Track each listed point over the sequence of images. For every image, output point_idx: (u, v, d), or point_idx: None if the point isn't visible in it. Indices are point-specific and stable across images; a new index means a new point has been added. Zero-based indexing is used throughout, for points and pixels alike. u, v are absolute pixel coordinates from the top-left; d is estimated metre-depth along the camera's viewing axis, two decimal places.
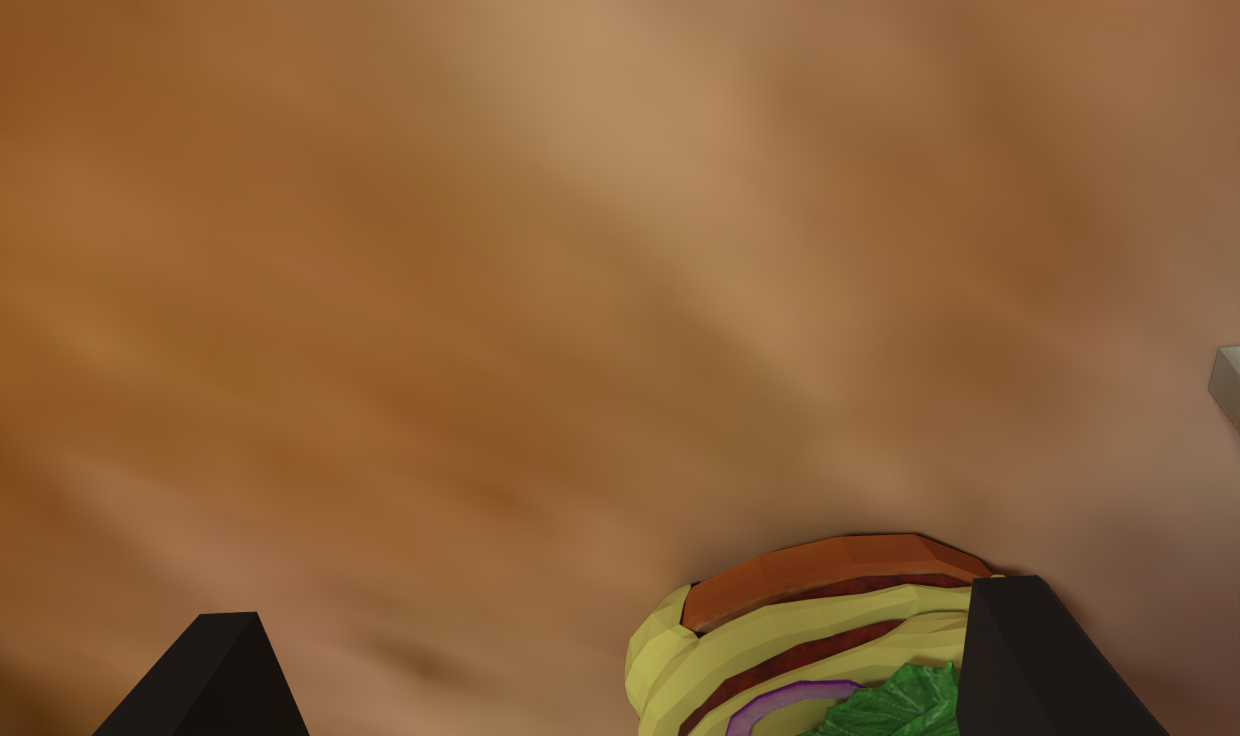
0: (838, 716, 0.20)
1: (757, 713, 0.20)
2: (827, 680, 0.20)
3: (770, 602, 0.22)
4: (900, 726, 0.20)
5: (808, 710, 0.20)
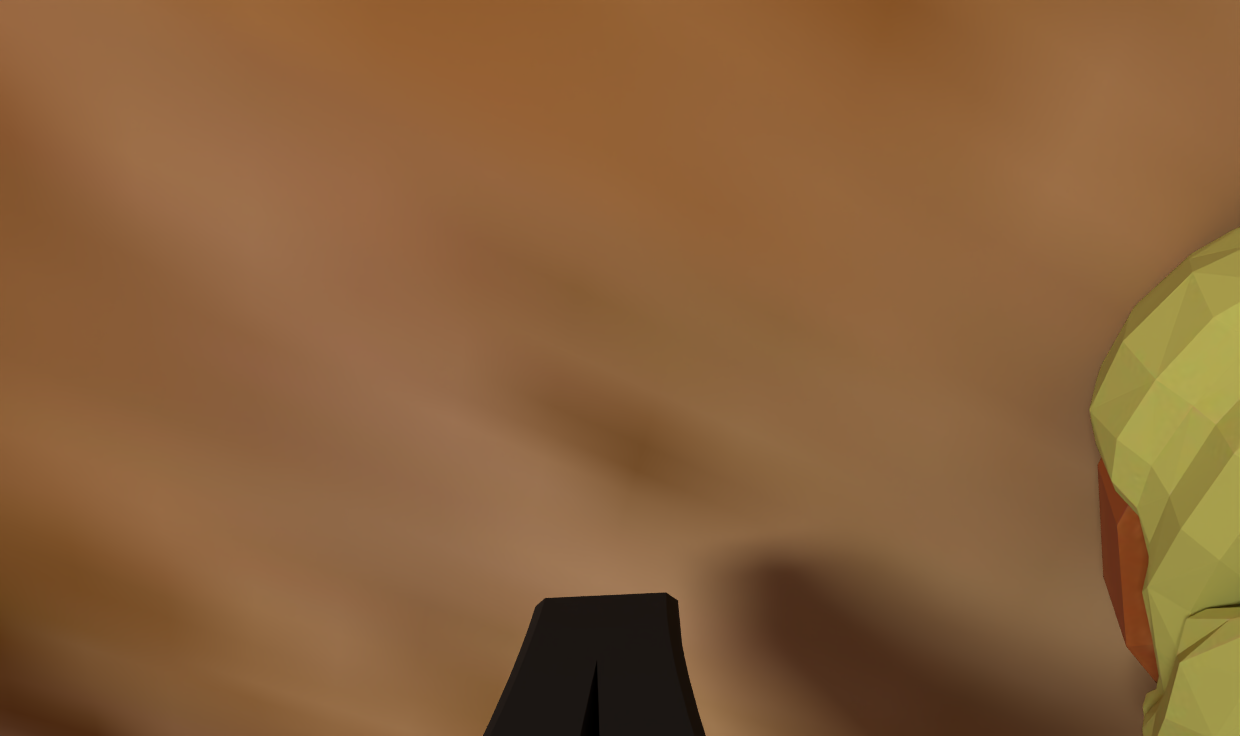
0: None
1: None
2: None
3: None
4: None
5: None
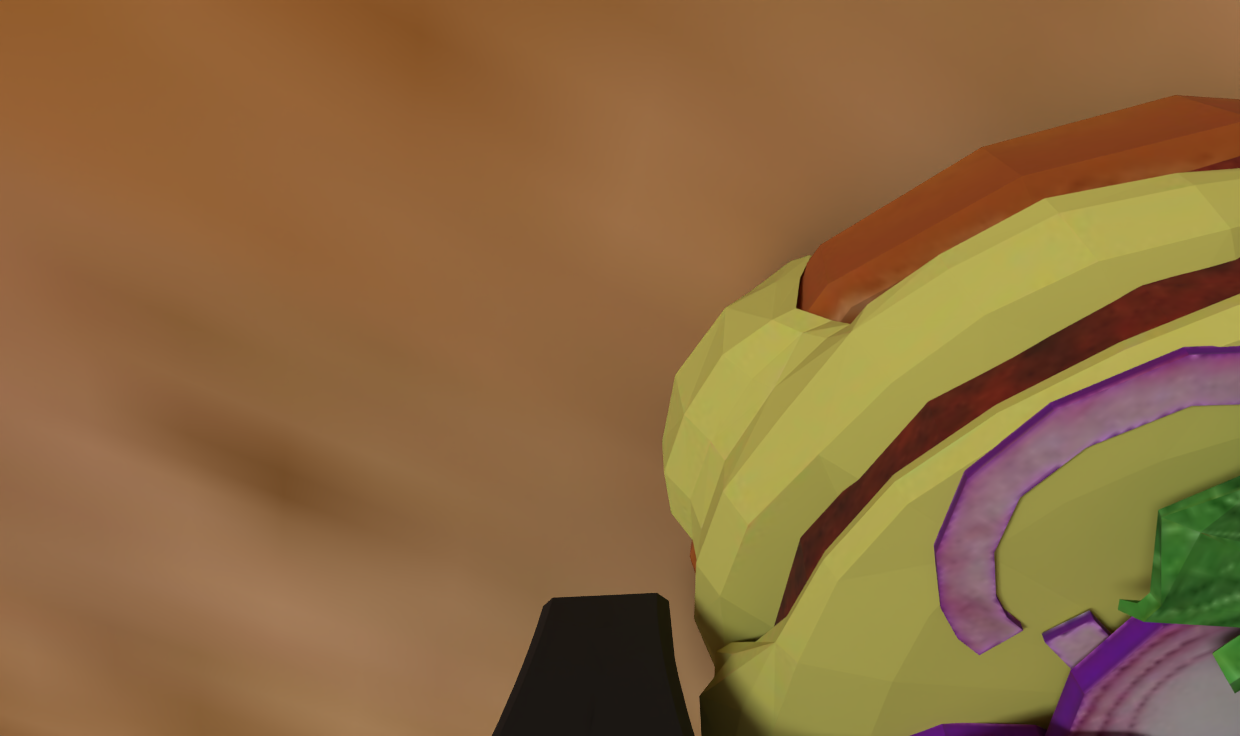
0: None
1: (1044, 457, 0.08)
2: None
3: None
4: None
5: (1183, 451, 0.08)
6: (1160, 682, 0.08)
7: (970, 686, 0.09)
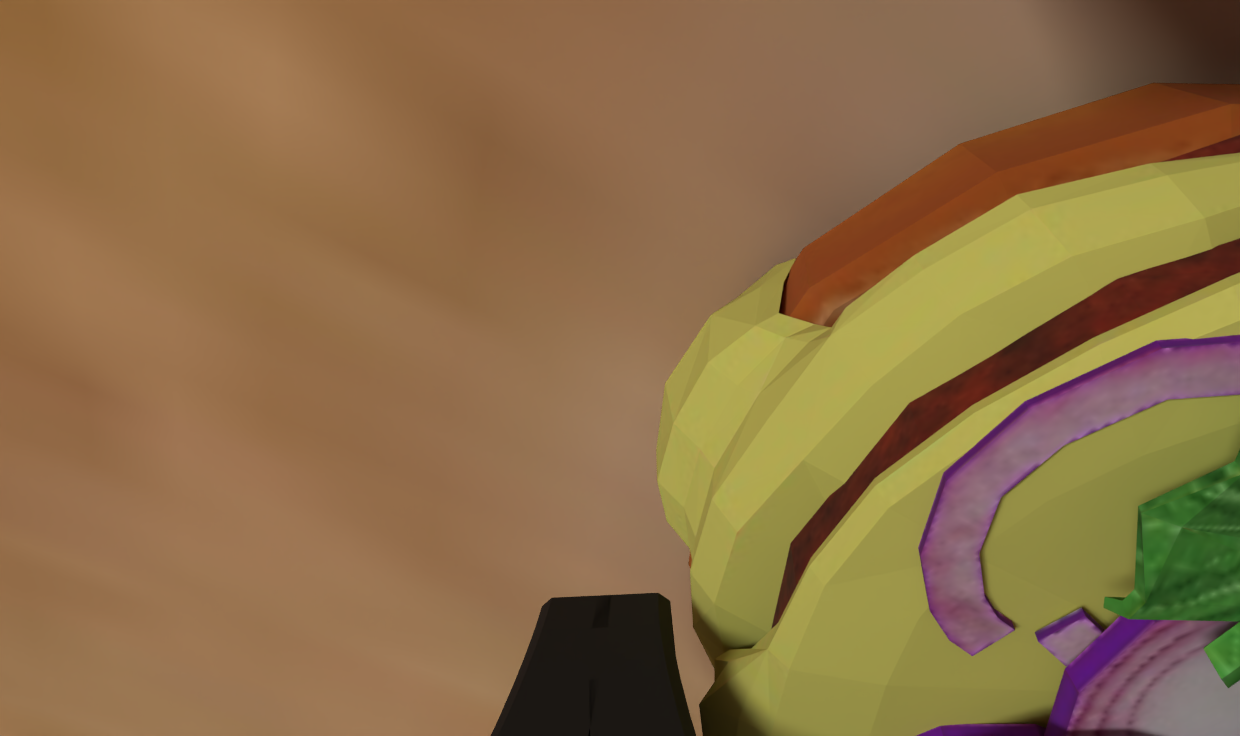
0: None
1: (1022, 456, 0.07)
2: None
3: None
4: None
5: (1162, 444, 0.07)
6: (1156, 678, 0.08)
7: (966, 687, 0.09)
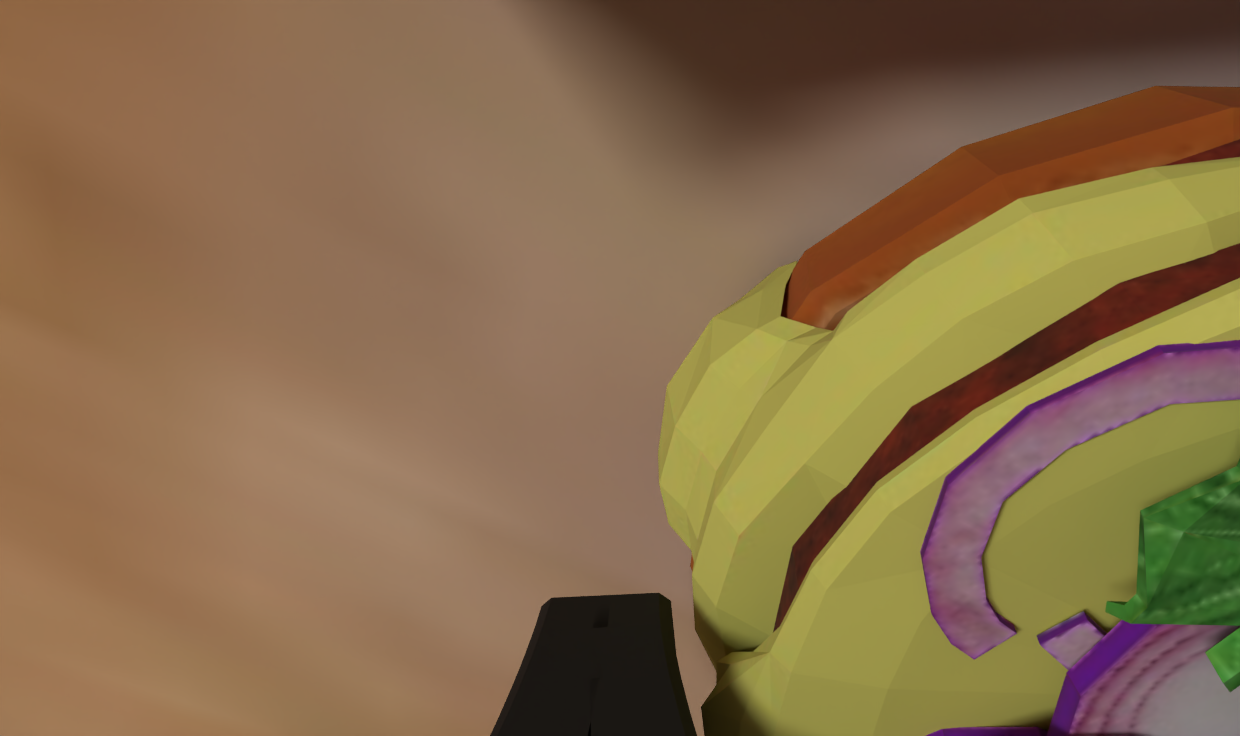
0: None
1: (1024, 460, 0.07)
2: None
3: None
4: None
5: (1165, 449, 0.07)
6: (1158, 682, 0.08)
7: (968, 690, 0.09)
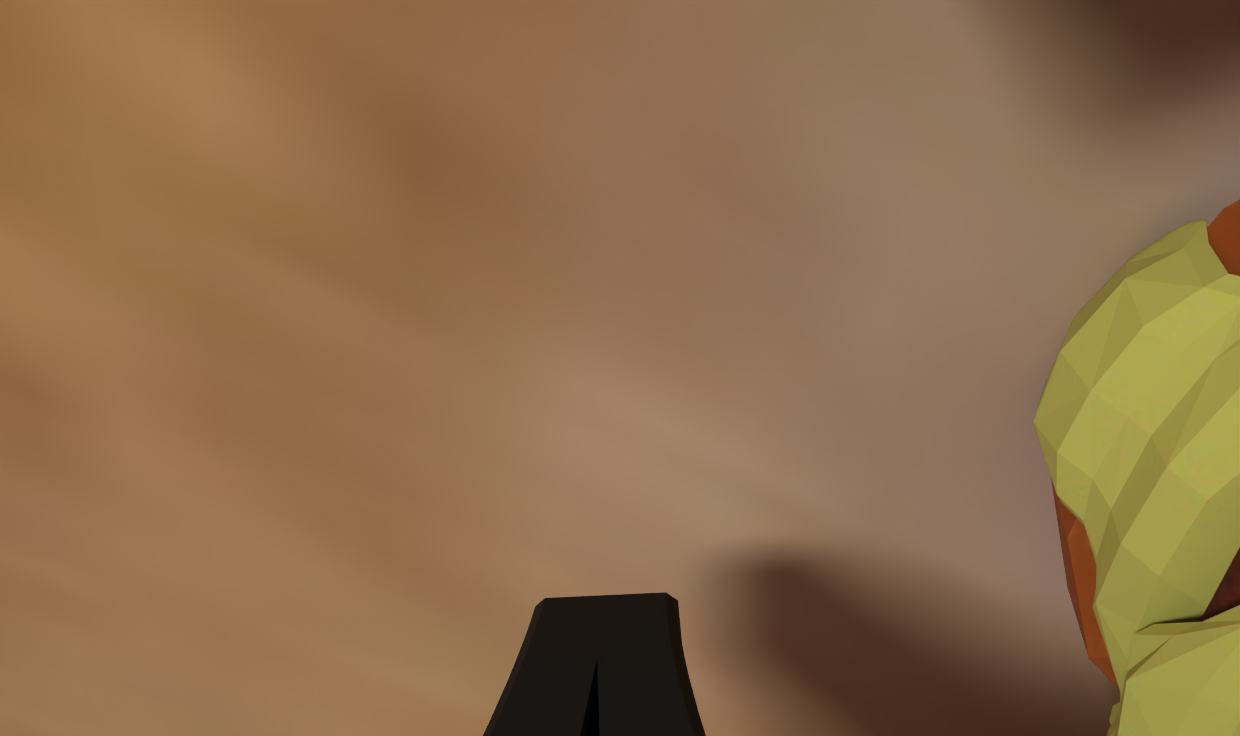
0: None
1: None
2: None
3: None
4: None
5: None
6: None
7: None
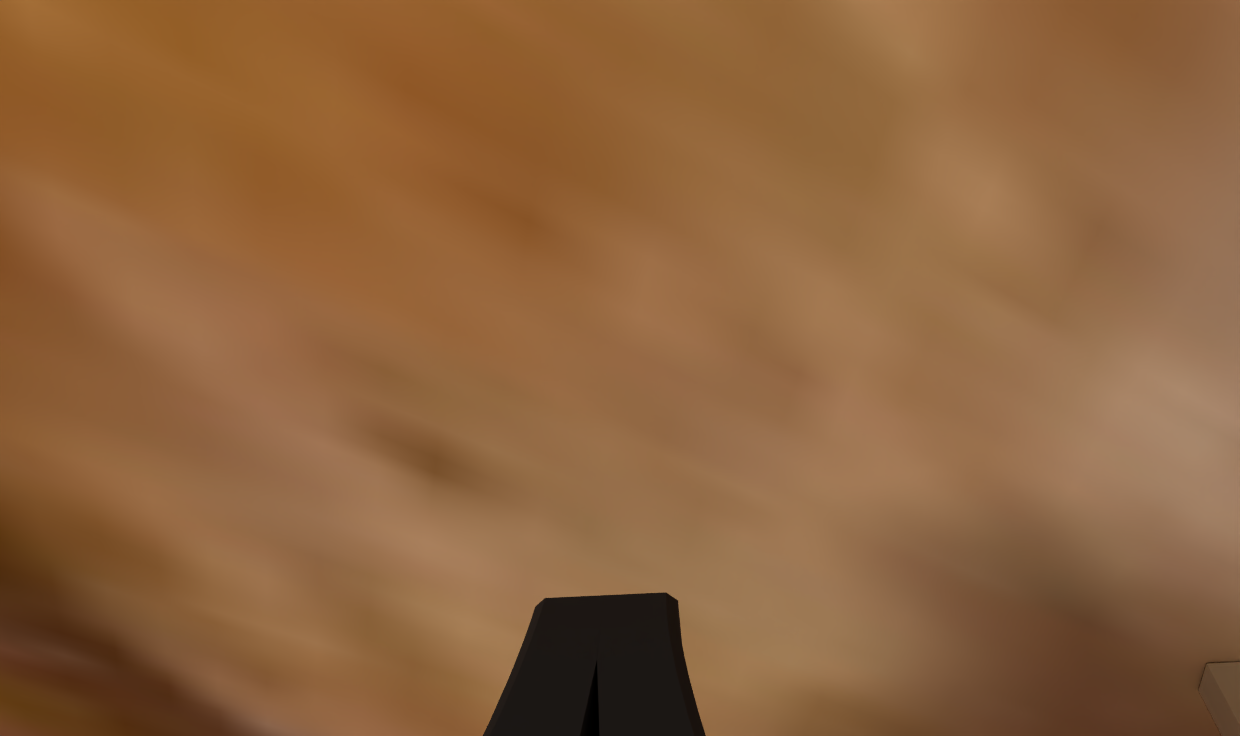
0: None
1: None
2: None
3: None
4: None
5: None
6: None
7: None
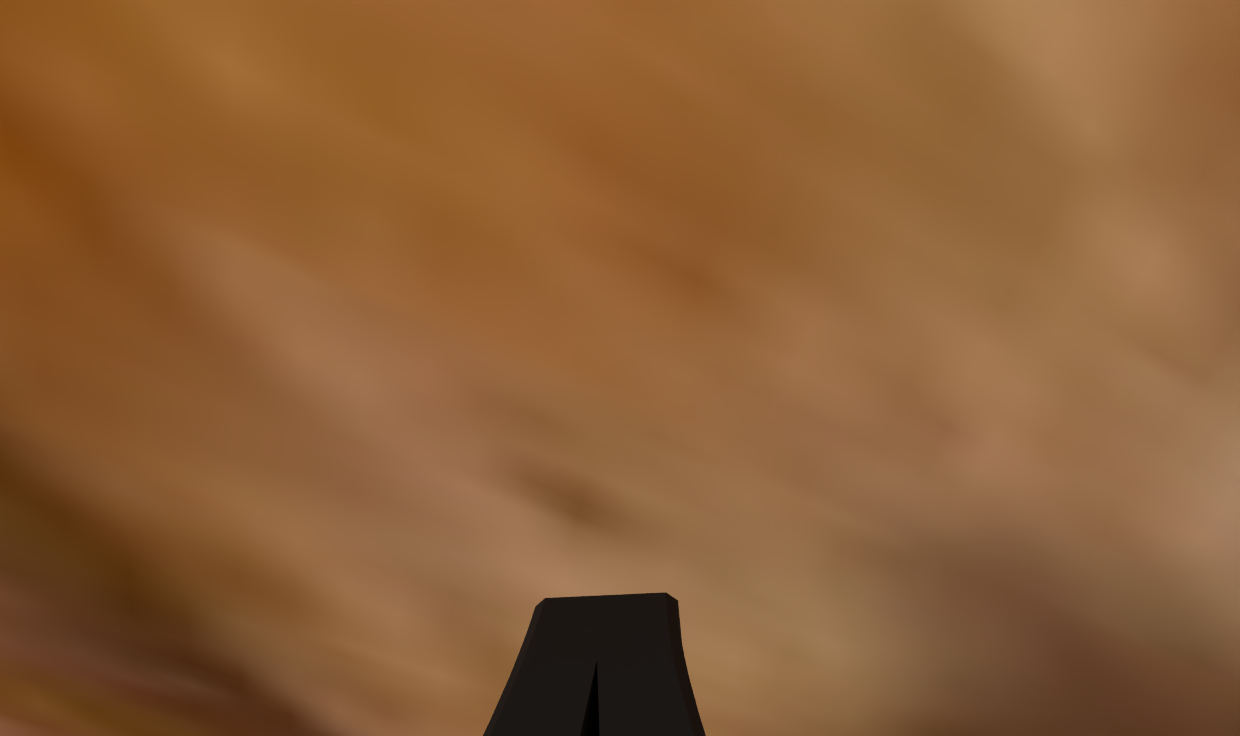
0: None
1: None
2: None
3: None
4: None
5: None
6: None
7: None
